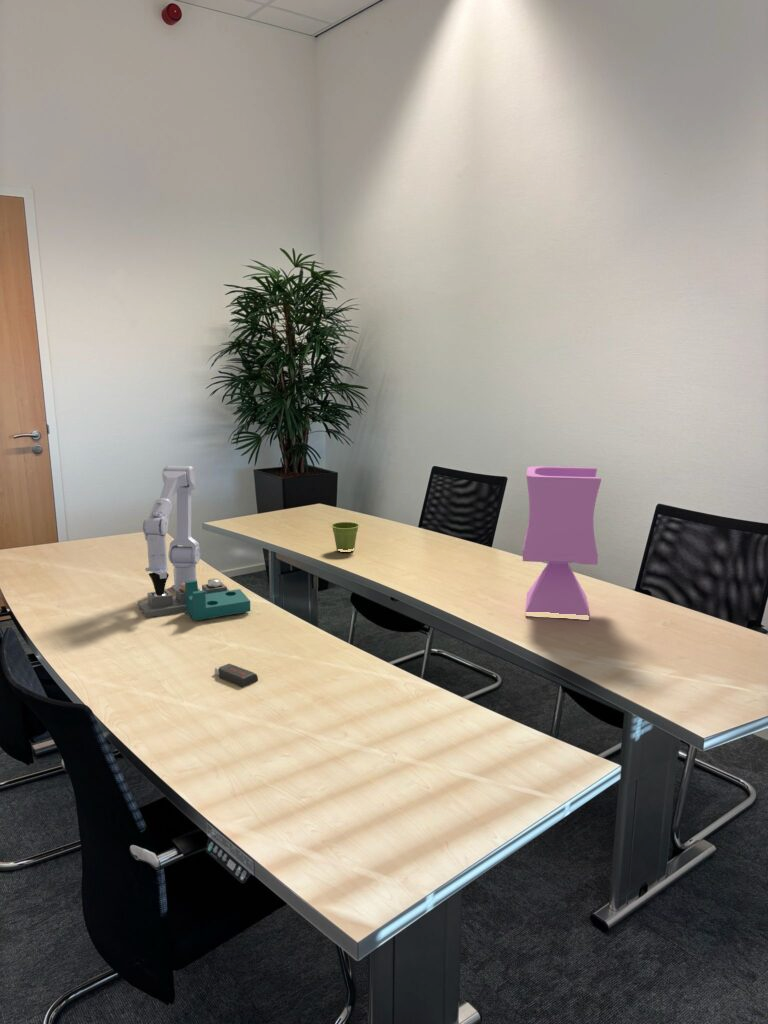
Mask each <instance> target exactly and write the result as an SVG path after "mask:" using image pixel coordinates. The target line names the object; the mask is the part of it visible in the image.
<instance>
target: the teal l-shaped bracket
mask: <svg viewBox="0 0 768 1024" xmlns="http://www.w3.org/2000/svg"><path fill="white" fill-rule="evenodd" d="M198 587H199V586H198V580H197V579H196V580H192V581H185V599H186V612H185V613H186V614H187V616H188V617H189V616H190V617H191V618H192V619H193V620H194V621H199V620H206V619H212V618H217V617H218V618H219V617H225V616H230V615H236V614H242V613H249V612H251V599H249V598H248V596H247V595H246V594H245V592H243V591H242V590H241V589H240V588H237V589H232V590H230V591H223V592H217V593H210V594H205V591H204V590H202V589H201V590H200V591H198ZM190 617H189V618H190Z"/></svg>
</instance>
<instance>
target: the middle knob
mask: <svg viewBox="0 0 768 1024" xmlns="http://www.w3.org/2000/svg"><path fill="white" fill-rule="evenodd" d="M181 592H182V593H185V583H182V584H181Z"/></svg>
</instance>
